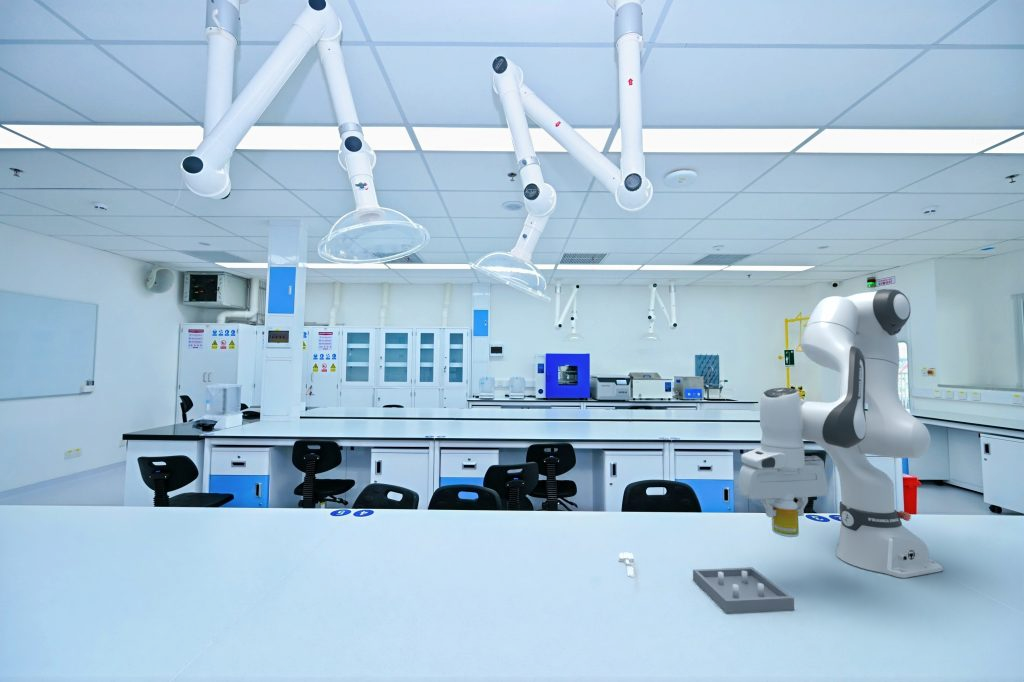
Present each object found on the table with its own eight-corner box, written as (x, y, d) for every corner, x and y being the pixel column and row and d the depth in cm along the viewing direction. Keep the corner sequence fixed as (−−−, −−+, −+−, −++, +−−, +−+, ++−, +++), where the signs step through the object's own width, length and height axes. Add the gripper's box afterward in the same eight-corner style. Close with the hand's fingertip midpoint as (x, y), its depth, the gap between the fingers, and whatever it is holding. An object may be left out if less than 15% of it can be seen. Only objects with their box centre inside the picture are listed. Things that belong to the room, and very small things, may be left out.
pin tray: (752, 577, 107) (752, 563, 107) (794, 610, 93) (793, 593, 93) (693, 580, 106) (692, 565, 106) (726, 613, 92) (726, 596, 92)
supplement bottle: (803, 538, 101) (801, 495, 101) (777, 536, 102) (776, 494, 102) (792, 529, 106) (791, 488, 107) (768, 528, 107) (767, 487, 108)
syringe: (647, 595, 99) (647, 588, 99) (626, 594, 100) (626, 587, 100) (634, 557, 119) (634, 550, 119) (616, 556, 120) (616, 549, 120)
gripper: (813, 452, 109) (815, 509, 108) (734, 455, 107) (736, 513, 107) (833, 458, 103) (836, 518, 102) (750, 461, 101) (752, 522, 100)
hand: (784, 515), depth 104 cm, fingers closed on supplement bottle, 5 cm apart
